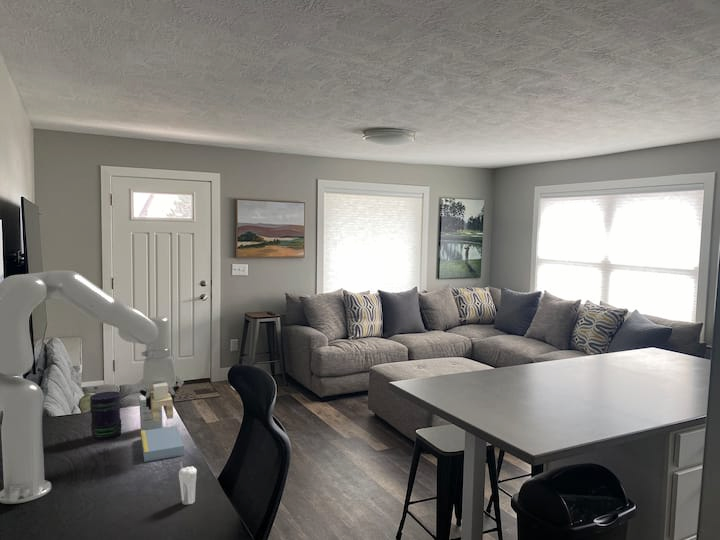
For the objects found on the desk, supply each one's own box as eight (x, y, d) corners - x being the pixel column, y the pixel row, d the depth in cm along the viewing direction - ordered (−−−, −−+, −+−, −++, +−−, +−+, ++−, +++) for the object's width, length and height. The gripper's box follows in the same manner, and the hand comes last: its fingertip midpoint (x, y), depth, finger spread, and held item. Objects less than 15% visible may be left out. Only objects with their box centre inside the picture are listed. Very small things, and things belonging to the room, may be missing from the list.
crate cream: (168, 398, 175) (167, 385, 175) (154, 400, 174) (153, 387, 173) (167, 395, 179) (166, 382, 179) (153, 396, 177) (153, 384, 177)
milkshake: (189, 495, 147) (188, 459, 146) (201, 501, 144) (199, 463, 143) (174, 501, 143) (173, 464, 143) (185, 507, 140) (184, 469, 140)
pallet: (173, 418, 174) (172, 399, 174) (153, 421, 171) (152, 402, 171) (167, 401, 194) (166, 384, 194) (148, 403, 191) (148, 386, 191)
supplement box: (140, 428, 202) (138, 395, 202) (161, 425, 206) (160, 392, 205) (141, 434, 196) (140, 400, 195) (163, 431, 199) (161, 397, 198)
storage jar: (123, 430, 201) (121, 382, 200) (120, 439, 191) (118, 388, 190) (93, 433, 198) (91, 384, 197) (89, 443, 188) (86, 391, 187)
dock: (184, 455, 176) (183, 445, 176) (144, 461, 171) (143, 452, 171) (176, 433, 196) (176, 425, 196) (141, 439, 191) (140, 430, 191)
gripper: (130, 358, 175) (132, 414, 176) (186, 353, 182) (188, 406, 183) (130, 354, 182) (132, 407, 182) (184, 349, 189) (185, 400, 190)
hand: (160, 406), depth 183 cm, fingers closed on pallet, 6 cm apart
